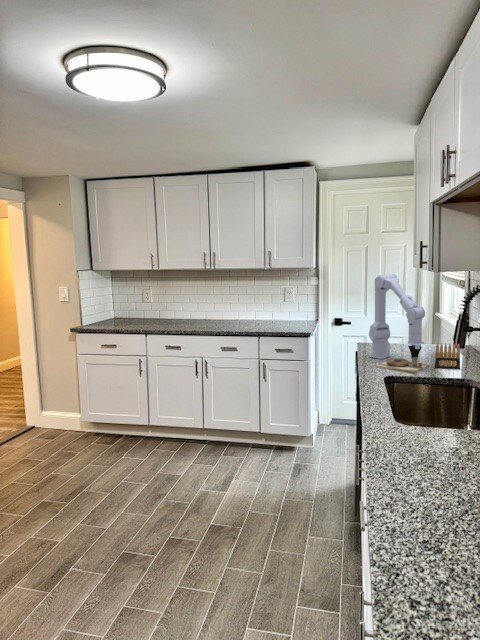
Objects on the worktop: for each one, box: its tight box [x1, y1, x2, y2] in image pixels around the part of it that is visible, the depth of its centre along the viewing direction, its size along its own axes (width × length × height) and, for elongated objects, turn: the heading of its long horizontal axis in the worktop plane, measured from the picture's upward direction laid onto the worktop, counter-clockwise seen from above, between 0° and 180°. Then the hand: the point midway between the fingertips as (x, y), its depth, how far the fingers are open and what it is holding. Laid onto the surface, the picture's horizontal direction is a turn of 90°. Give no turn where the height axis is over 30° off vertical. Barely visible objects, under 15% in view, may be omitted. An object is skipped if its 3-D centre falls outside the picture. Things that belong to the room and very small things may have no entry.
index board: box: [375, 360, 430, 374], centre depth 213 cm, size 16×19×3 cm
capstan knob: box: [386, 357, 418, 367], centre depth 212 cm, size 14×10×4 cm
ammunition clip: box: [434, 342, 461, 370], centre depth 206 cm, size 11×2×12 cm, turn 71°
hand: (414, 360), depth 210 cm, fingers closed
